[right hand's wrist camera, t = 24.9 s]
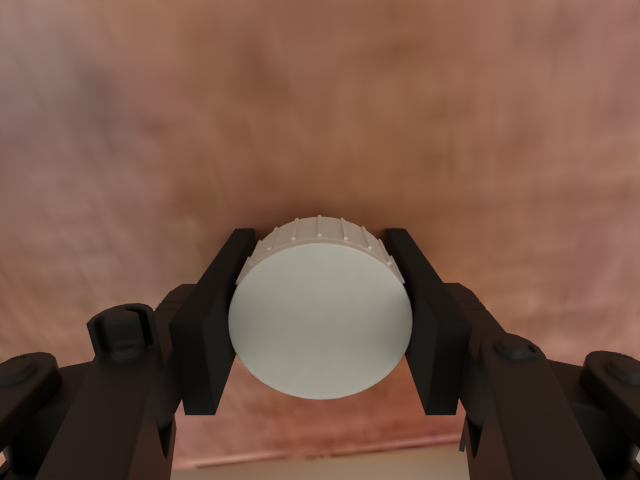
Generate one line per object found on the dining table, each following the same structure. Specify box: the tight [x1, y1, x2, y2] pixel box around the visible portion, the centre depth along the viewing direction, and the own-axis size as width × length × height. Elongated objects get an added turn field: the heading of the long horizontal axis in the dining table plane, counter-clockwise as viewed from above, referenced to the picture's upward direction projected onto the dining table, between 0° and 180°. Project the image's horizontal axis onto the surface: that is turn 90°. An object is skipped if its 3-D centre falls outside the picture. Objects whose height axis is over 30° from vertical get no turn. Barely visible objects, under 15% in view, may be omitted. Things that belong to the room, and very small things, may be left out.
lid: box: [228, 215, 413, 399], centre depth 11 cm, size 6×6×2 cm
